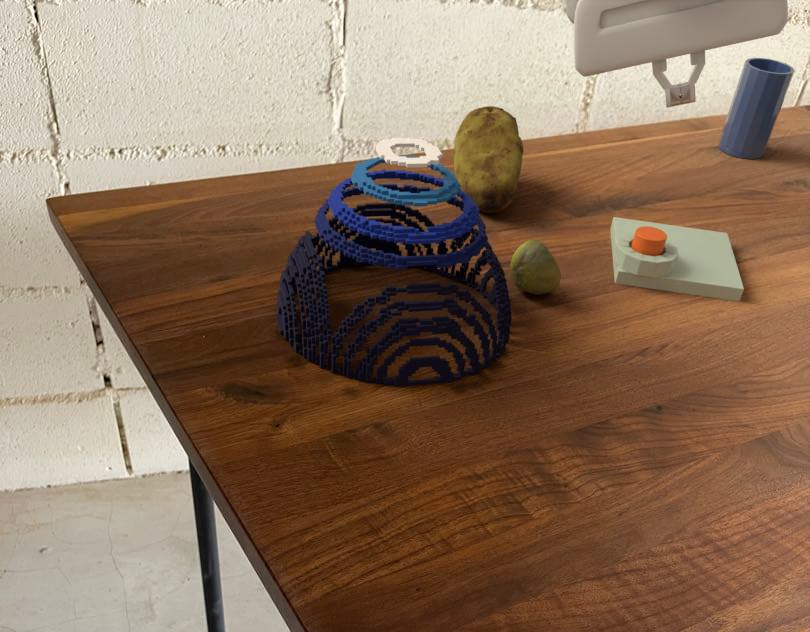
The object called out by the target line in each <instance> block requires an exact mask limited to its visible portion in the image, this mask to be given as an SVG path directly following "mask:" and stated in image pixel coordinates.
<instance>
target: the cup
mask: <svg viewBox="0 0 810 632" xmlns="http://www.w3.org/2000/svg"><path fill="white" fill-rule="evenodd" d="M794 74H795V68H794V67H792V66H791V65H789V64H787V63H785V62H783V61H779V60H777V59H776V60H775V59H771V58H767V57H751V58H747V59H746V60H745V61H744V63H743V67H742V70H741V73H740V77H739V79H738V82H737V85H736V88H735V91H734V94H733V97H732V101H731V103H730V106H729V109H728V112H727V115H726V118H725V122H724V124H723V127H722V130H721V134H720V137H719V140H718V144H717V147H718V149H719V150H720V151H721V152H723V153H724V154H727V155H729V156H732V157H734V158H739V159H744V160H745V159H746V160H747V159H748V160H756V159H760V158H762V157H764V154H765V152H766V150H767V148H768V144H769V142H770V140H771V136H772V134H773V131H774V128H775V126H776V123H777V121H778V118H779V115H780V112H781V110H782V107H783V104H784V101H785V99H786V95H787V93H788V90H789V88H790V85H791V83H792V80H793V77H794Z"/></svg>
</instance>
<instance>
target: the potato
mask: <svg viewBox="0 0 810 632" xmlns="http://www.w3.org/2000/svg"><path fill="white" fill-rule="evenodd" d="M523 155H524V144H523V140H522V138H521V137H520V132H519V125H518V122H517V118H516V117H514V115H512V114H511V113H510V112H508V111H507V110H505V109H503V108H501V107H498V106H494V105H489V106H488V105H487V106H482V107H478V108H475V109H472V110H471V111H470V112H469V113H468V114H467V115H465V117H464V118H463V120H462V121H461V123H460V125H459V126H458V129H457V131H456V134H455V137H454V145H453V169H454V172H453V174H454V176H455V177H456V179H457V180H458V182H459V183H460V184H461V187H460V189H461V190H462V191H463V192H464V193H465V195H469V196H470V198H471V199H472V201H473V202H474V204H475V205H476V206H477V208H478V209H479V212H481V213H485V214H487V215H490V214H494V213H499V212H501V211H504V210H505V209H506V208H507V207H508V206H509V205H510V204H511V203H512V201H514V198H515V196H516V193H517V192H516V191H517V188H518V186H519V182H520V180H519V179H520V175H521V170H522V165H523Z"/></svg>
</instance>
